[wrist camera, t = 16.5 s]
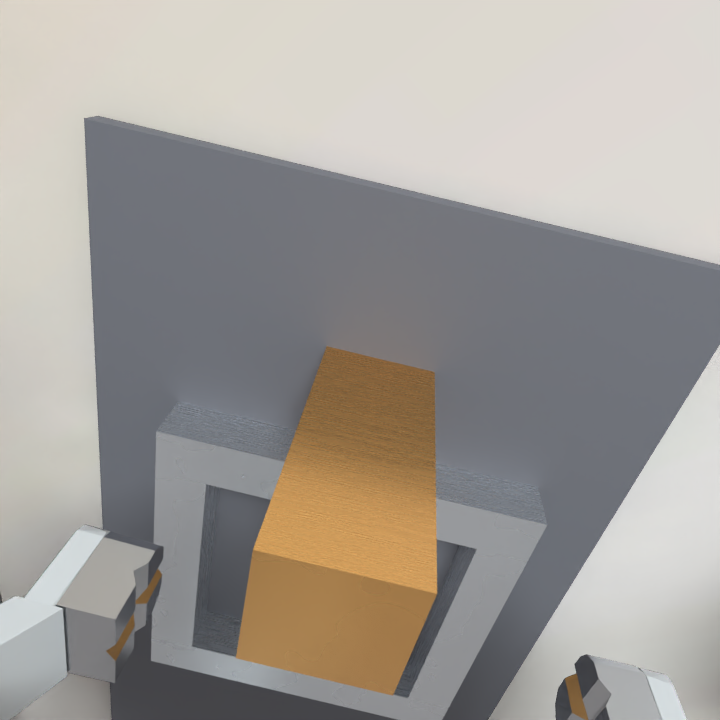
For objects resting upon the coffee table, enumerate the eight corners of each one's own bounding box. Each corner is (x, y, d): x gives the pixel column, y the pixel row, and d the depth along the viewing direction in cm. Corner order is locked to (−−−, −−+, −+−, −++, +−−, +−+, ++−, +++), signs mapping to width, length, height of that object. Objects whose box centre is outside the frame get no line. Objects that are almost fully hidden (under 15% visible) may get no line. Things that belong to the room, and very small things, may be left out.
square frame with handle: (436, 688, 22) (438, 934, 16) (167, 624, 22) (64, 846, 16) (578, 406, 15) (682, 652, 9) (182, 311, 15) (6, 490, 9)
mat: (432, 794, 27) (432, 808, 26) (118, 719, 27) (112, 732, 26) (746, 270, 13) (759, 280, 13) (98, 115, 13) (84, 118, 13)
